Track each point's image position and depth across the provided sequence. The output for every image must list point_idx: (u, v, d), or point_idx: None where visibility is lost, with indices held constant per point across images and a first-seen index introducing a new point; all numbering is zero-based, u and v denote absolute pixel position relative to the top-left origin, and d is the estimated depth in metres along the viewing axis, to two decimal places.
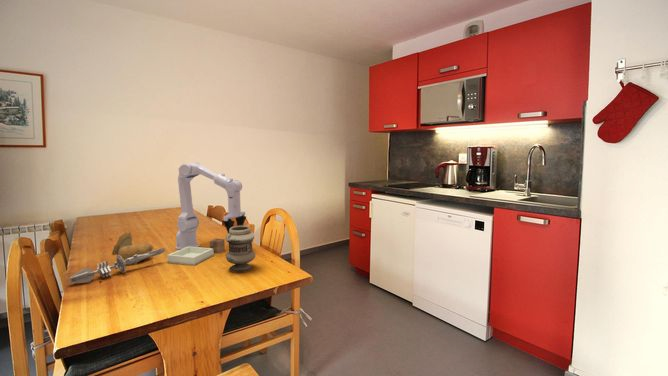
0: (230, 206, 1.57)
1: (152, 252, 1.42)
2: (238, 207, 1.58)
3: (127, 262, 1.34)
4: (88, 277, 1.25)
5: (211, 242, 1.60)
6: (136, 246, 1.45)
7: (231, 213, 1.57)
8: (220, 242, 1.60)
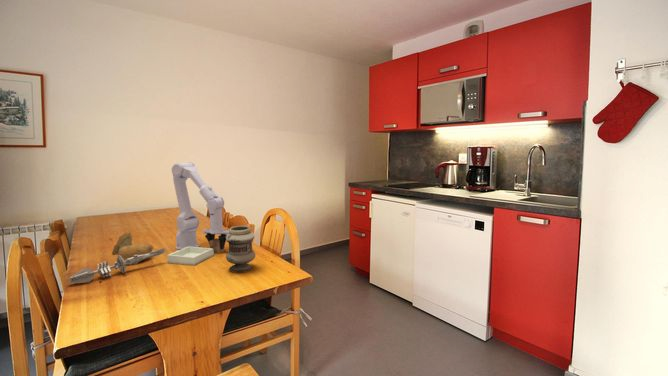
0: None
1: (153, 252, 1.42)
2: (212, 224, 1.58)
3: (127, 262, 1.34)
4: (88, 277, 1.25)
5: (211, 242, 1.60)
6: (136, 246, 1.45)
7: None
8: None
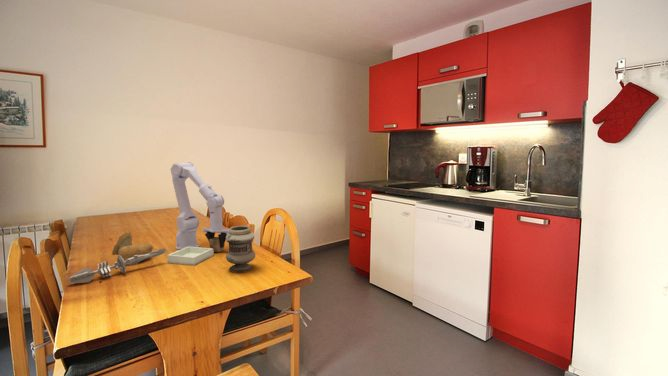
0: None
1: (153, 252, 1.41)
2: (211, 222, 1.58)
3: (127, 262, 1.34)
4: (88, 277, 1.25)
5: (211, 240, 1.60)
6: (136, 246, 1.45)
7: None
8: None
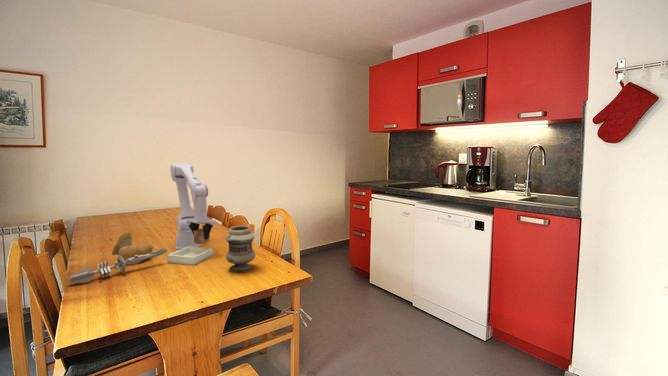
0: None
1: (153, 253, 1.41)
2: (195, 213, 1.51)
3: (128, 262, 1.34)
4: (88, 277, 1.25)
5: (195, 232, 1.52)
6: (136, 246, 1.45)
7: None
8: None
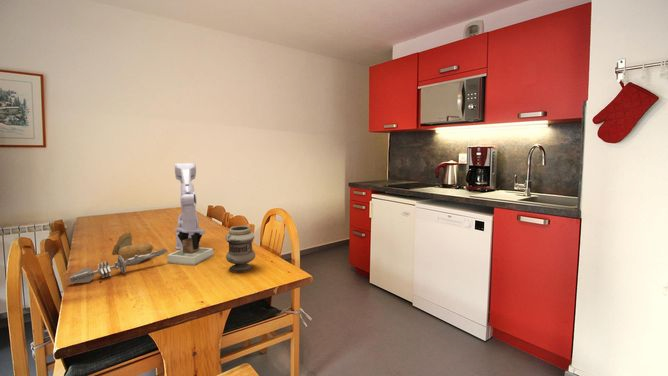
0: None
1: (153, 253, 1.41)
2: (184, 222, 1.47)
3: (128, 262, 1.34)
4: (88, 277, 1.25)
5: (184, 241, 1.48)
6: (136, 246, 1.45)
7: None
8: None
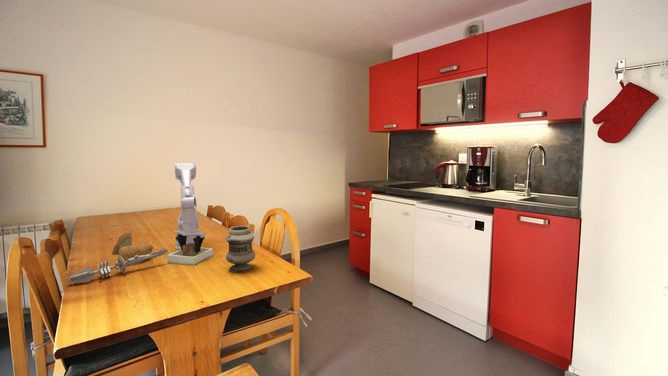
0: None
1: (154, 253, 1.41)
2: (184, 225, 1.47)
3: (128, 263, 1.34)
4: (88, 277, 1.25)
5: (184, 247, 1.49)
6: (136, 246, 1.45)
7: None
8: (194, 247, 1.49)
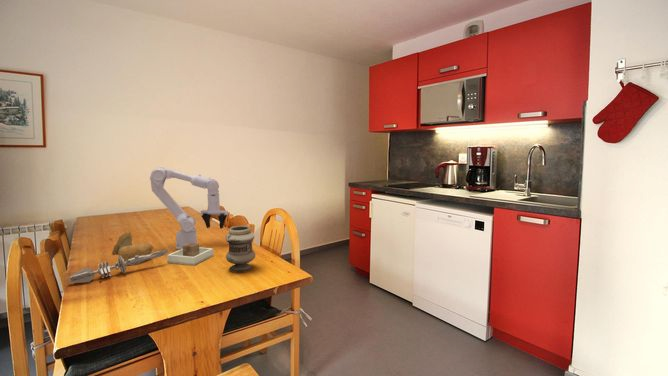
0: None
1: (154, 253, 1.40)
2: (210, 204, 1.68)
3: (128, 263, 1.33)
4: (88, 277, 1.25)
5: (184, 247, 1.49)
6: (136, 246, 1.45)
7: None
8: (194, 247, 1.49)
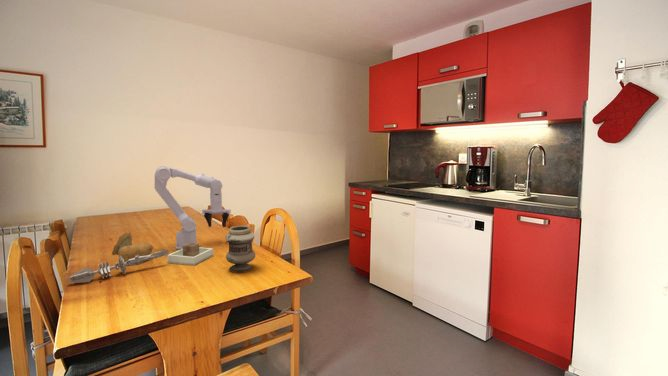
0: None
1: (154, 254, 1.40)
2: (213, 204, 1.71)
3: (128, 263, 1.33)
4: (88, 277, 1.25)
5: (184, 247, 1.49)
6: (136, 246, 1.45)
7: None
8: (194, 247, 1.49)
